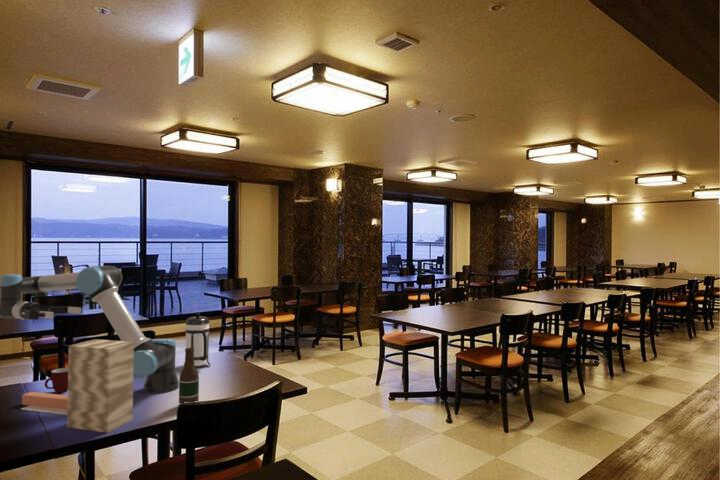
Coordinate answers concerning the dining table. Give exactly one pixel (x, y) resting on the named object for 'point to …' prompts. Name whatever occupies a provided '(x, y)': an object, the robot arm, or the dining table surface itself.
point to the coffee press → (198, 338)
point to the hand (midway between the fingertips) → (66, 312)
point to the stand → (100, 385)
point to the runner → (46, 410)
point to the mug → (59, 380)
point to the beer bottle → (189, 379)
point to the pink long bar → (45, 400)
